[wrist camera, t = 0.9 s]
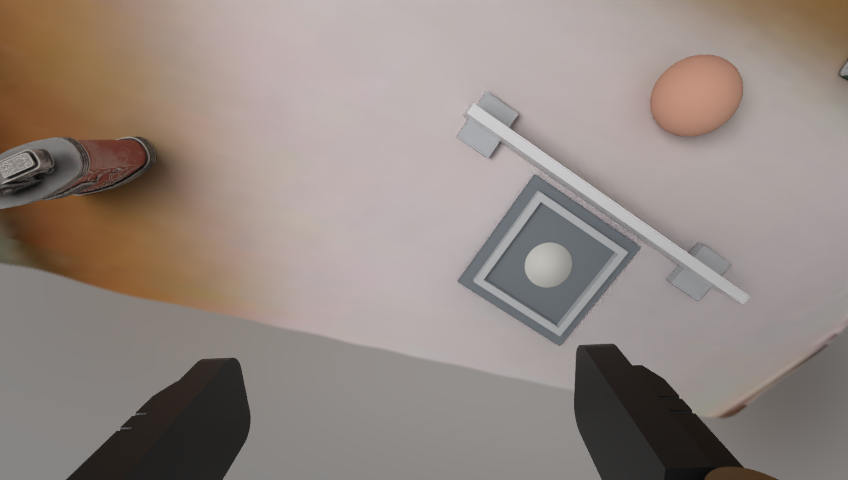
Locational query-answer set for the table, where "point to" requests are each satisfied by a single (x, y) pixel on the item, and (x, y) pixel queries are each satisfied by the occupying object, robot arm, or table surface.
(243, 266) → the table surface
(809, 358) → the table surface
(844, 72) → the crayon box
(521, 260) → the slate mat
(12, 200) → the lighter
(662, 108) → the rubber ball
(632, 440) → the robot arm
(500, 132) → the low wall
